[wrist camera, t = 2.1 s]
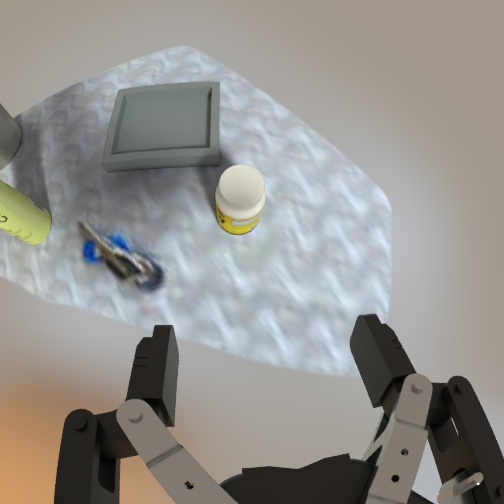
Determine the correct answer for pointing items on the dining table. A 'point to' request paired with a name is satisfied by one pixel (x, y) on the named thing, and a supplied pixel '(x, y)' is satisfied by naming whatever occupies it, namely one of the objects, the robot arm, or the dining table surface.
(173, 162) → the tray
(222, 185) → the supplement bottle
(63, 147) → the dining table surface
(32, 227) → the tube
